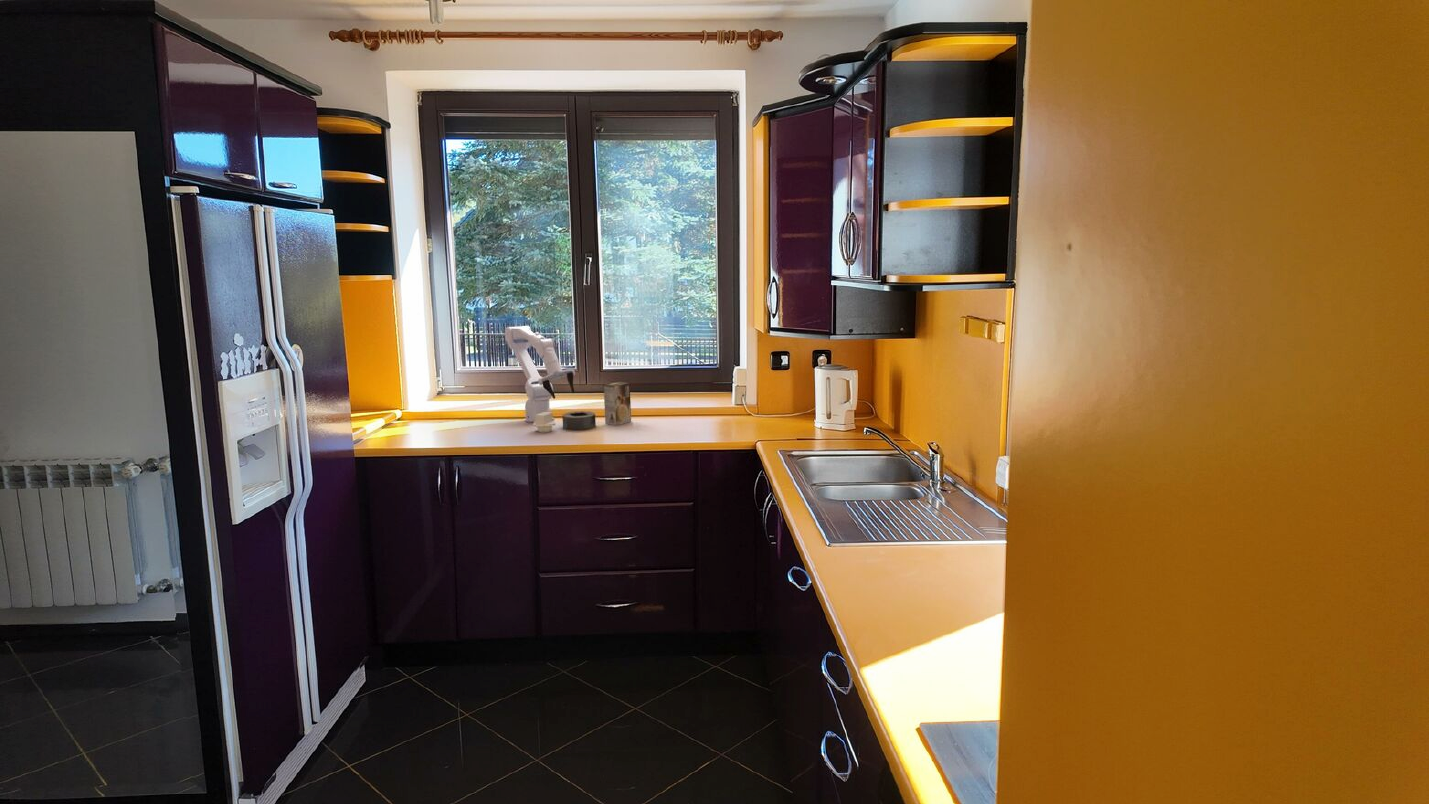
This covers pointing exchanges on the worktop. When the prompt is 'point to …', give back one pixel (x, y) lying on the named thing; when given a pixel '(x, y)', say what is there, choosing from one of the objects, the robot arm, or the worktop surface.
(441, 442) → the worktop surface
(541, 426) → the cap
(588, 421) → the dark grey thick ring
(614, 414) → the coffee box
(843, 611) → the worktop surface
